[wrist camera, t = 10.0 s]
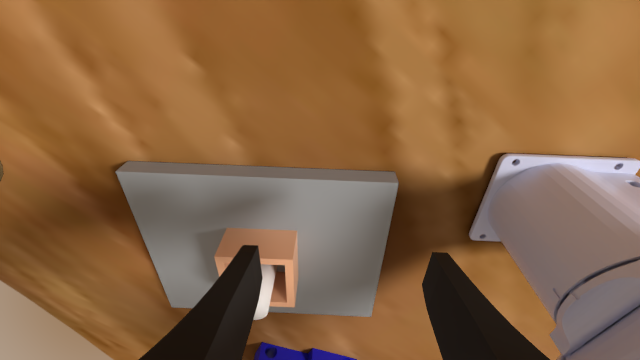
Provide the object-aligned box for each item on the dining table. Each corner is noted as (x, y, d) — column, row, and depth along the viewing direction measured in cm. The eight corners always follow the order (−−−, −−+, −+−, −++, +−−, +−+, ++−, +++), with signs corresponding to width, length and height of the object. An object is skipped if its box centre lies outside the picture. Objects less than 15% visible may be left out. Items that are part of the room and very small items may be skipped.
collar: (297, 230, 23) (292, 259, 21) (298, 277, 26) (294, 307, 24) (226, 227, 23) (214, 256, 21) (236, 274, 27) (226, 304, 24)
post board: (394, 171, 22) (415, 232, 16) (369, 303, 31) (377, 371, 25) (127, 161, 22) (61, 217, 17) (178, 294, 31) (145, 359, 25)
